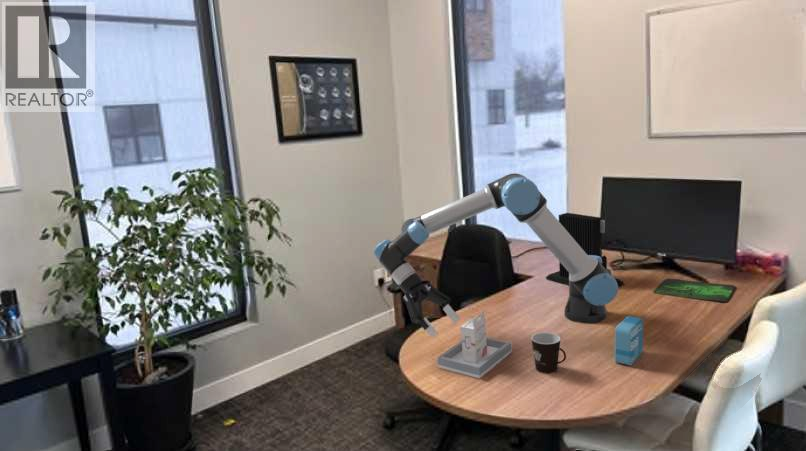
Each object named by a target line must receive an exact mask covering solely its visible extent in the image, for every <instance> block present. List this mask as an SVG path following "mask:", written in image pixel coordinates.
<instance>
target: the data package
mask: <svg viewBox="0 0 806 451" xmlns="http://www.w3.org/2000/svg"><path fill="white" fill-rule="evenodd" d="M643 336H644V320H643V318H640V317H635V316H629V315H627V316H626V317H625V318H624V319H623V320H621V321H620V322H619V323H618V324H617V325H616V326H615V329H614V361H615V363H617V364H622V365H627V366H632V365H633V364H634V363H635V361H636V360H637V359H639V357H640V356H641V355H642V353H643V348H644V346H643V343H644V342H643V340H644V337H643Z"/></svg>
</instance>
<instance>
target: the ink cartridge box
mask: <svg viewBox="0 0 806 451" xmlns="http://www.w3.org/2000/svg"><path fill="white" fill-rule="evenodd" d="M486 324H487V322H486V315H485V311H481V312H480V313H479V314H478V315H477V316H475V317H472V318H470V319H469V320H467V321H466V322H465V323H464V324H462V325H461V326H460V334H461V341H462V351H463V361H467V362H472V363H477V362H478V361H479V360H480V359H481V358H482V357H483V356H484V355H485V354H486V353H487V343H486V337H487V328H486V327H487V326H486Z"/></svg>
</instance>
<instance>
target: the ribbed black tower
mask: <svg viewBox="0 0 806 451" xmlns="http://www.w3.org/2000/svg"><path fill="white" fill-rule="evenodd" d="M558 221H559V222H560V223H561V225H562V226H563V227H564V228H565V229H566V230H567V232H568V233H569V234H570V235H571V236H572V237H573V239H574V240H575V241H576V242H577V243H578V245H579V246H580V247H581V248H582V249H583V250H584V252H585V253H586V254H587V255H595V256H600V257H601V258H602V262H603V263H602V266H603V267H604V268H605V269H606V270H607V272H608V273H609V274H610V275H612V276H613V274H612V269H610V268H608V267H607V266H608V264H607V261H608V257H607V256H606V255H603V250H602V247H601V246H602V245H601V244H602V242H601V241H602V238H601V237H602V236H601V235H602V234H605V233H606V220H605V219H604V220H603V219H602V217H601V216H600V217H599V216H592V215H586V214H579V213H571V212H565V213H561V214H558ZM558 263H559V265H558V266H559V268H558V269H559V270H558V271H555V272H553V273H552V272H551V273H549V274H548V275H547V276H545V279H546V280H547V281H551V282H555V283H557V284H558V283H559V284H562V285H565V286H569V272H568V271H567V270H566V268H565V267H564V266H563V265H562V264H561V263H560V262H559V261H558ZM614 278H615V280H616V282H617V284H618V288H619V287H622V286H624V285H625V281H623V280H621V279H619V278H616V277H614Z"/></svg>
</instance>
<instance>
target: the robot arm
mask: <svg viewBox="0 0 806 451" xmlns="http://www.w3.org/2000/svg"><path fill="white" fill-rule="evenodd" d="M547 204H548V200H547V199H546V197H545V196H544V195H543V193H541V191H540V190H539V188H538V186H537V185H536V184H535V182H534V181H532V179H529V178H527V177H526V176H524V175H522V174H520V173H517V172H516V173H515V172H514V173H509V174H506V175H504V176H502V177H500V178H498V179H496V180H494V181H492V182H490V183H488V184H487V183H486V185H485V187H484V188H482V189H480V190H478V191H475V192H473V193H471V194H469V195H466V196H463V197H462V198H459V199H457V200H454V201H451V202H450V203H448V204H445V205H442V206H441V207H438V208H436V209H433V210H431V211H428V212H426V213H424V214H422V215H420V216H417V217H414V218H413V217H412V218H411V217H410V218H407V219H406V220H405V221H404V222H403V223H402V225H401V227H400V228H401V229H400V230H401V233H400V234H398V235H397V237H396V238H394V239H393V240H390V239H384V240H382V241H381V242H379V243H378V244H377V245H376V246H375V247H374V250H373V253H374V256H375V257H376V259H377V260H378V262H379V263H380V264H381V265H382V267H383V268H384V270H386V272H387V273H388V274H389V275H390V277H391V278H392V280H394V282H395V283H396V285H398V286H399V288H400V289H401V291H402V292H403V293H404V296H403V297H402V300H403V302H404V303H405V305H406V308H407V311H408V315H409V318H410V321H411V322H412V324H413V323H414V324H416V325H420V326H421V328H422V329H423V330H424V331H426V333H427V334H428V335H429V337H430V338H431V339H433V338H434V337H435V336H436V335H438V331H437V330H436V329H435V327H434V326H433V325H432V324H431V322H430V321H429V320H428V318H427V317H424V314H423V307H422V306H423V305H422V303H423V302H425V301H426V302H427V301H429V302H432V303H433V304H436V305H438V306H440V307H442V310H443V311H444V313H445V314H446V315H447V316H448V318H449V319H450V320H451V321H452V322H453V324H454V325H455V324H457V323H458V322H459V321H460V320H461V318H460V317H459V315H458V314H457V313H456V311H455V309H454V308H453V307H452V306H451V305H450V303H451V298H450V297H449V296H447V295H446V294H444V293H443V292H441V291H440V290H438V288H435V287H434V286H433V285H432V283H430V282H427V284H426V285H424V284H423V279H422V277H420V276H419V274H418V273H416V271H415V269H414V268H413V266H411V265H410V263H409V262H408V261H407V258H408V257H409V256H410V255H411V254H412V253H413V252H414V251H416V250H417V249H418V248H419V247H420V246H421V245H423V244H425V242H426V241H427V240H428V239H429V237H430V235H431V234H433V233H436V232H439V231H442V230H443V229H446V228H448V227H450V226H452V225H455V224H457V223H460V222H462V221H465V220H467V219H470V218H472V217H474V216H477V215H480V214H481V213H484V212H486V211H490V210H491V209H495V210H498V209H501V208H504V207H505V208H506V209H507V210H508V211H509V212H510V213H511V214H512V215H513V216H514V217H515V218H516V220H517V221H518V222H519V223H521V224H525V223H526V224H527V225H528V227H529V228H530V229H531V230H532V231H533V233H534V234H535V235H536V236H537V237H538V239H540V241H541V242H542V243H543V244H544V245H545V247H546V248H547V249H548V250H549V251H550V252H551V253H552V255H553V256H554V257H555V259H557V261H558V263H559V262H560V263H561V264H562V265H563V266H564V267H565V268H566V270H567V271H568V272H569V285H568V290H569V291H568V294H569V295H568V298H567V301H566V303H565V307H564V317H565V318H566V319H568V320H570V321H573V322H577V323H582V324H584V323H589V324H592V323H599V322H602V321H604V320H606V319H607V318H608V311H607V310H608V309H607V307H606V305H608V304H609V303H611V302H612V301H613V300H614V299H615V298H616V297H617V295H618V291H619V287H618V284H617V282H616V280H615V278H616V277H614V275H613V274H612V275H610V274H609V273H608V272H607V270H606V269H605V268H604V267H603V266H602V263H603V262H602V258H601V257H600V256H595V255H587V254H586V253H585V252H584V250H583V249H582V248H581V247H580V246H579V245H578V243H577V242H576V241H575V240H574V239H573V237H572V236H571V235H570V234H569V233H568V232H567V230H566V229H565V228H564V227H563V226H562V225H561V223H560V222H559V219H557V218H556V216H555V215H554V214H553V212H551V211H550V209H549V208H548V206H547Z"/></svg>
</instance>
